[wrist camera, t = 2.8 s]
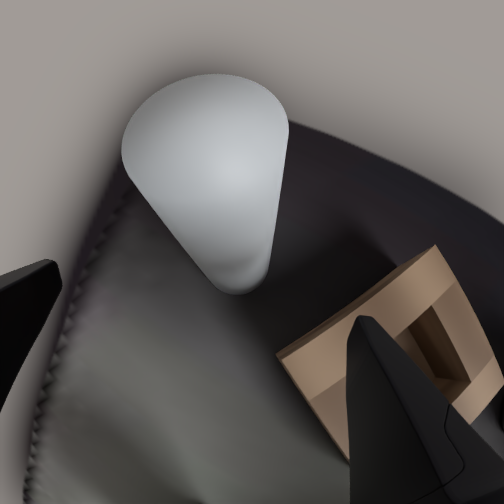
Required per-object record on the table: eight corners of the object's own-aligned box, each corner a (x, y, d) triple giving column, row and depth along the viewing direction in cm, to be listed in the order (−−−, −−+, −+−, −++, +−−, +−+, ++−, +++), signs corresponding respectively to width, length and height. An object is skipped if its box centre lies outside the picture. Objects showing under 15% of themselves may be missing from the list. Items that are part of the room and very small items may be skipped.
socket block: (353, 469, 15) (379, 501, 10) (275, 353, 17) (281, 360, 13) (461, 378, 16) (505, 382, 11) (397, 266, 19) (435, 244, 14)
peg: (225, 307, 18) (159, 240, 6) (194, 253, 19) (104, 120, 7) (281, 273, 19) (324, 149, 6) (247, 222, 20) (233, 57, 7)
